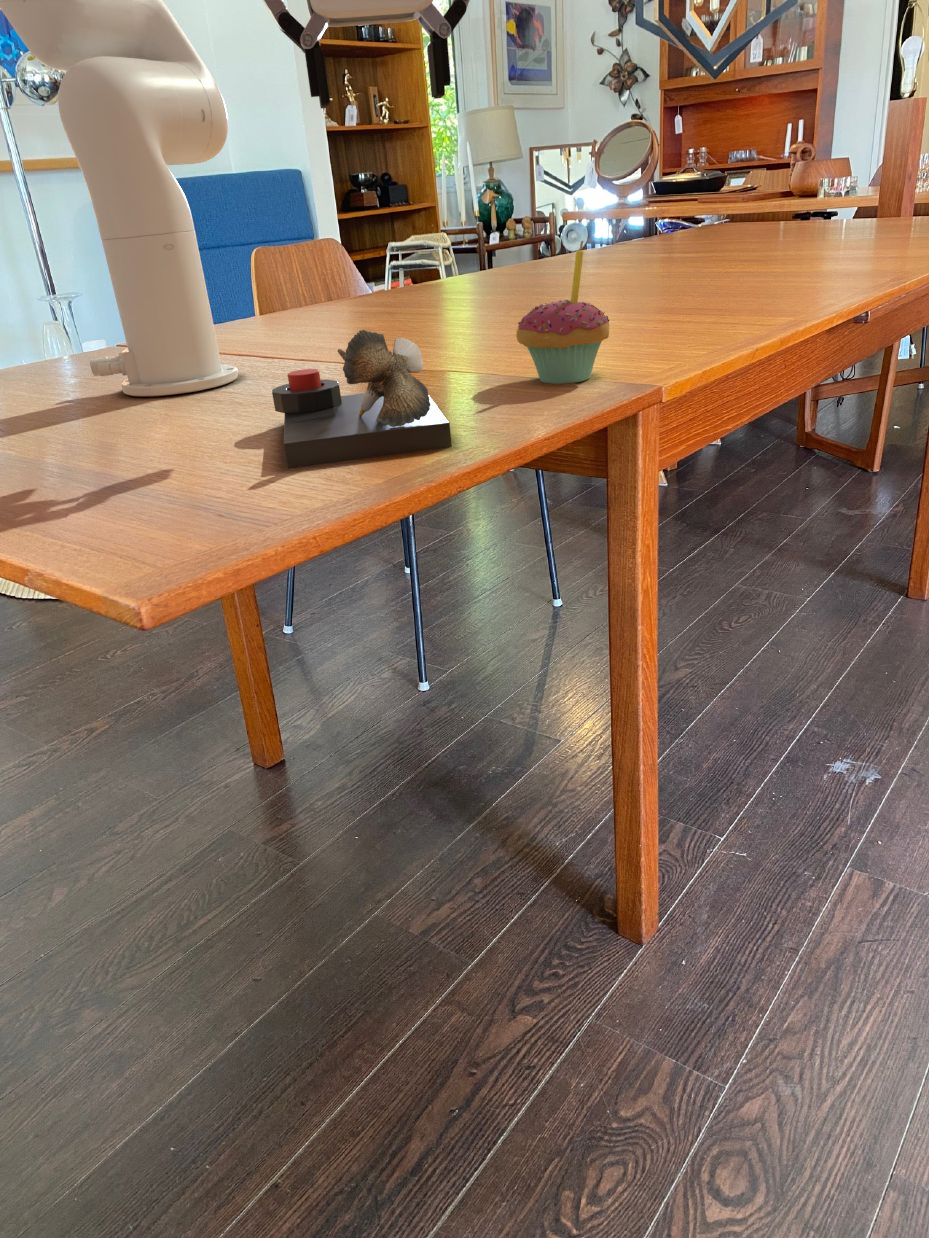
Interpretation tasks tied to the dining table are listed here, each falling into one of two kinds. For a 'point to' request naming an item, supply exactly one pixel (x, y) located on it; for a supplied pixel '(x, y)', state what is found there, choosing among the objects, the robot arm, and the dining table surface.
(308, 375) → the button
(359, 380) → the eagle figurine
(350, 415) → the dark grey flat block
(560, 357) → the cupcake
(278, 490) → the dining table surface
